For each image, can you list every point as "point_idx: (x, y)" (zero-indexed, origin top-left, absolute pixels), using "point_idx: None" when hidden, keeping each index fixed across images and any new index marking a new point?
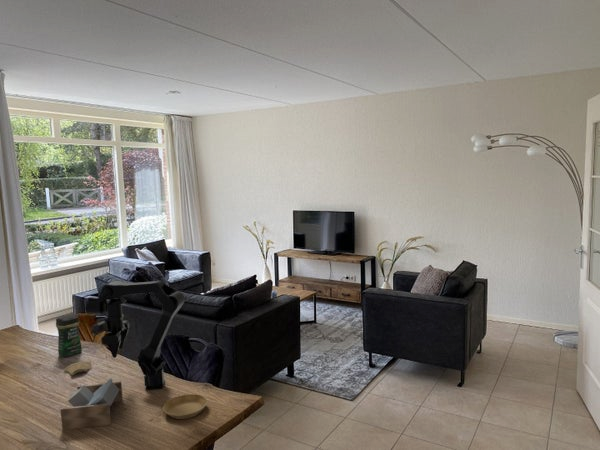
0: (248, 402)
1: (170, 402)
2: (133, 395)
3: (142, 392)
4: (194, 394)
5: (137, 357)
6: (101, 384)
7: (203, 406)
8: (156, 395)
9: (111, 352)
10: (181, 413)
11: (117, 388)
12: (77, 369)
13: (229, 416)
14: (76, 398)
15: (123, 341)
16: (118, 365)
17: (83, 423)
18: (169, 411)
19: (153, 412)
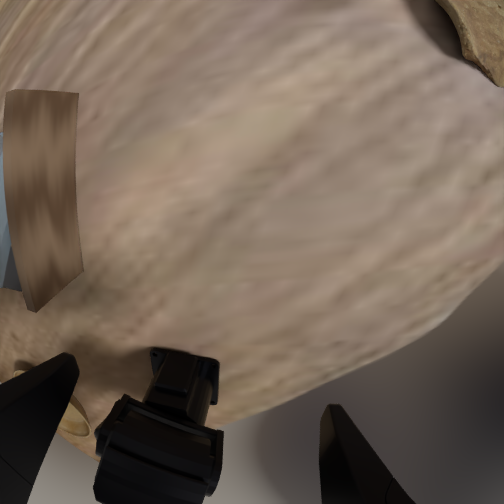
0: (99, 460)
1: None
2: (115, 306)
3: (136, 336)
4: (89, 432)
5: (105, 450)
6: (9, 221)
7: (66, 422)
8: (114, 368)
9: (15, 381)
10: None
11: (17, 289)
12: (454, 8)
13: (56, 431)
14: None
15: (322, 496)
16: (487, 214)
17: None
18: None
19: (36, 346)
